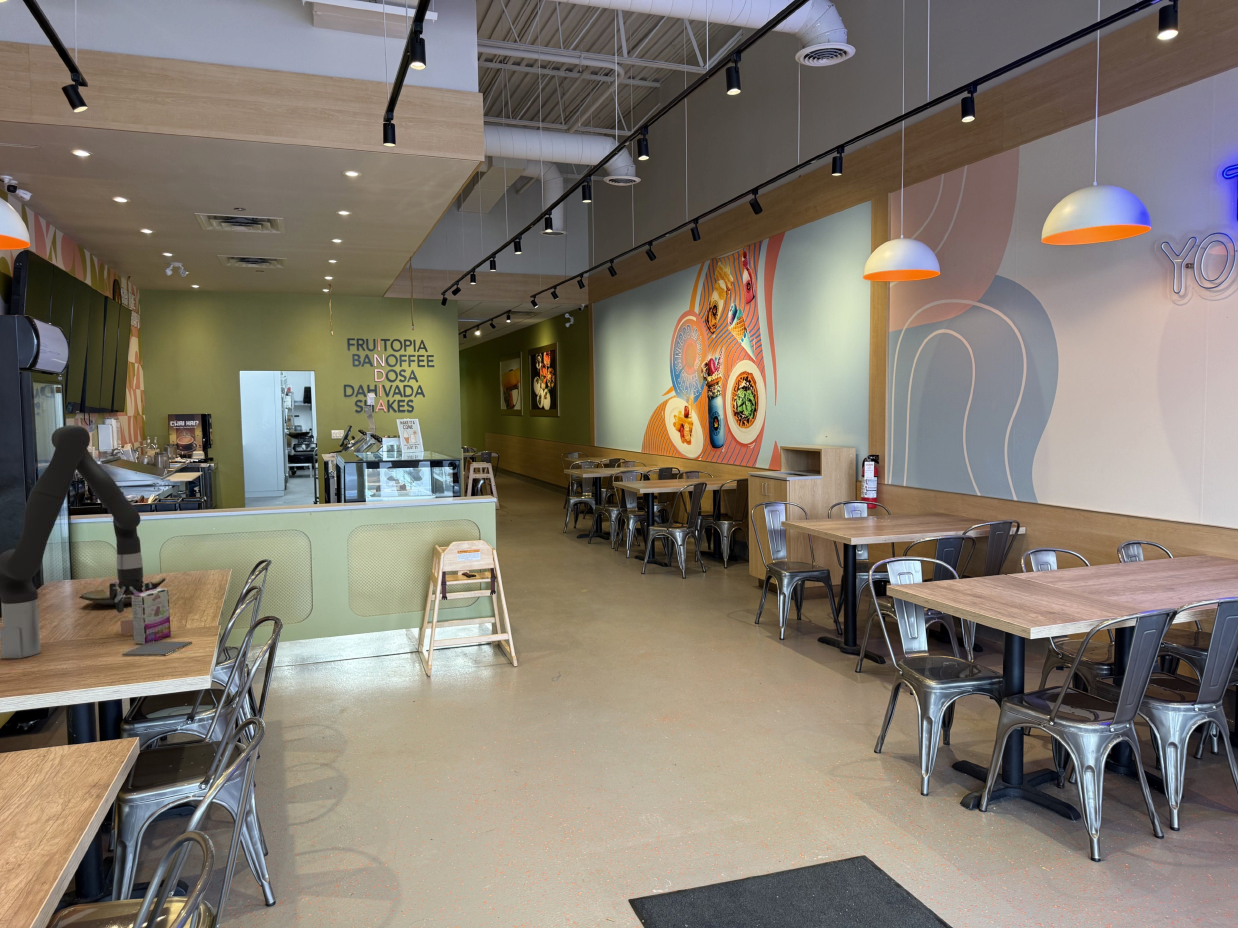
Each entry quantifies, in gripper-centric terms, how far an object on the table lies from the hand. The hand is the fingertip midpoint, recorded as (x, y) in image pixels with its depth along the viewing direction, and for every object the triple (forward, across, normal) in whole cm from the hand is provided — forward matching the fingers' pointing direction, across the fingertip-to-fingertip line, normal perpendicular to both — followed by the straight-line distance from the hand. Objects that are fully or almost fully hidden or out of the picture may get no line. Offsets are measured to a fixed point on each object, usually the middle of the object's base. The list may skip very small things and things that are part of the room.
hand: (132, 612), depth 273 cm
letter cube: (+7, 0, -1) cm, 7 cm away
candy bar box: (+7, +12, -9) cm, 17 cm away
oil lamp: (+8, -33, +44) cm, 56 cm away
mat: (+7, +21, -20) cm, 30 cm away
